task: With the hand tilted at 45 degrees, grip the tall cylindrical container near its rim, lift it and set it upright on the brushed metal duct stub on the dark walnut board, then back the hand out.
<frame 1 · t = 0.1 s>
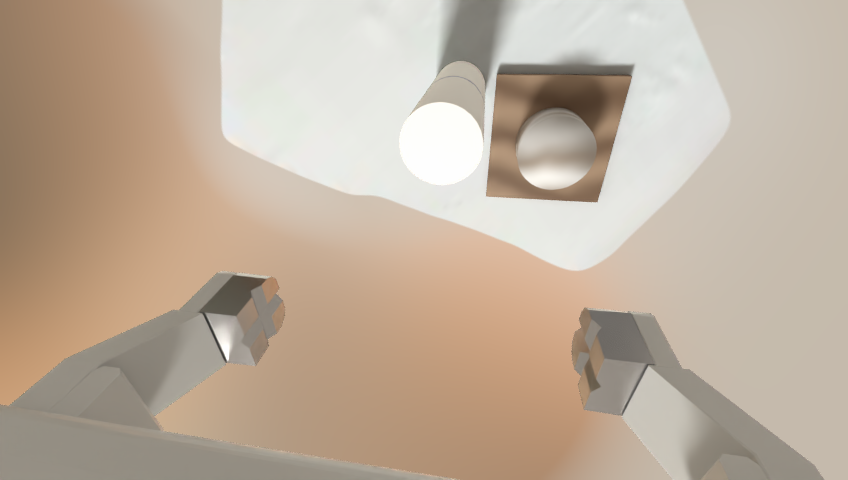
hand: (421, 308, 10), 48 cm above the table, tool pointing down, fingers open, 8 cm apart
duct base: (549, 140, 54), on the table
cylindrical container: (459, 88, 52), on the table
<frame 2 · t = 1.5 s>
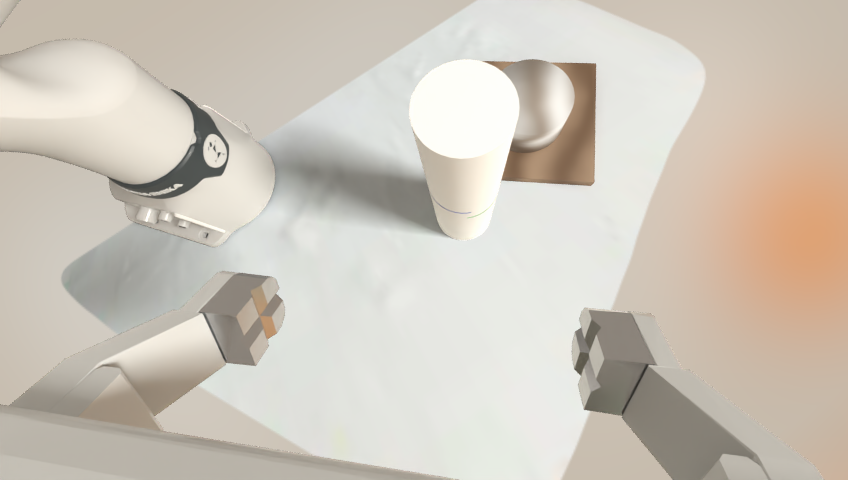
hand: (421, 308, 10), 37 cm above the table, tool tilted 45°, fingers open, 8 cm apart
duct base: (523, 122, 50), on the table
cylindrical container: (463, 214, 48), on the table
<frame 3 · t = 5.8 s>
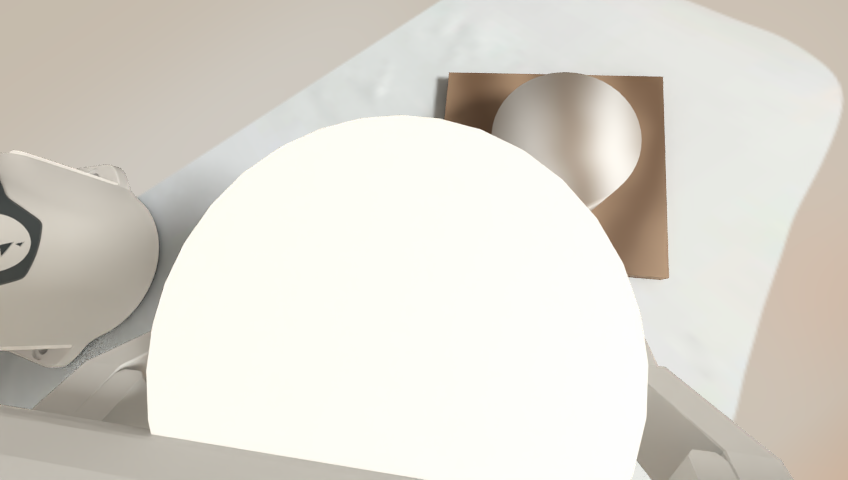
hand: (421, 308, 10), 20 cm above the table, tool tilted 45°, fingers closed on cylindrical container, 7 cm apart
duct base: (545, 171, 31), on the table
cylindrical container: (450, 322, 30), on the table, touching gripper
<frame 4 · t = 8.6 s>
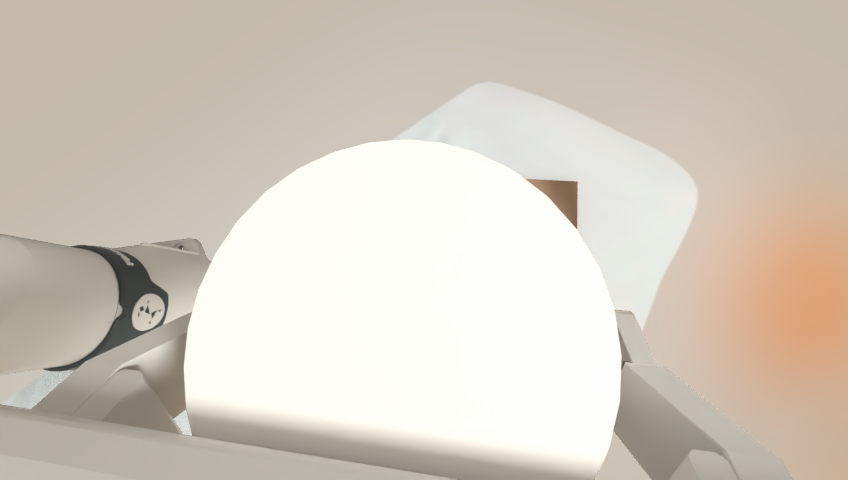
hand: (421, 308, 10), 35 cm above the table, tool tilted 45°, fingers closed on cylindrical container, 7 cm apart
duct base: (498, 246, 45), on the table
cylindrical container: (449, 326, 30), point 14 cm above the table, touching gripper
when the fingers open (28 cm above the table, at t = 11.6 s): cylindrical container stays where it is, resting on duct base.
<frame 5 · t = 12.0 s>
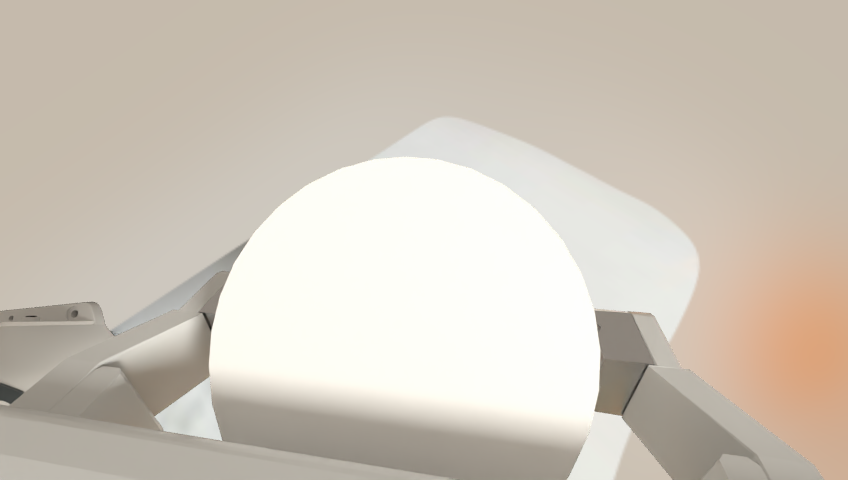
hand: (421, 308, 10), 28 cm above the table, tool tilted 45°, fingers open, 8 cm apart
cylindrical container: (450, 323, 31), point 6 cm above the table, touching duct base
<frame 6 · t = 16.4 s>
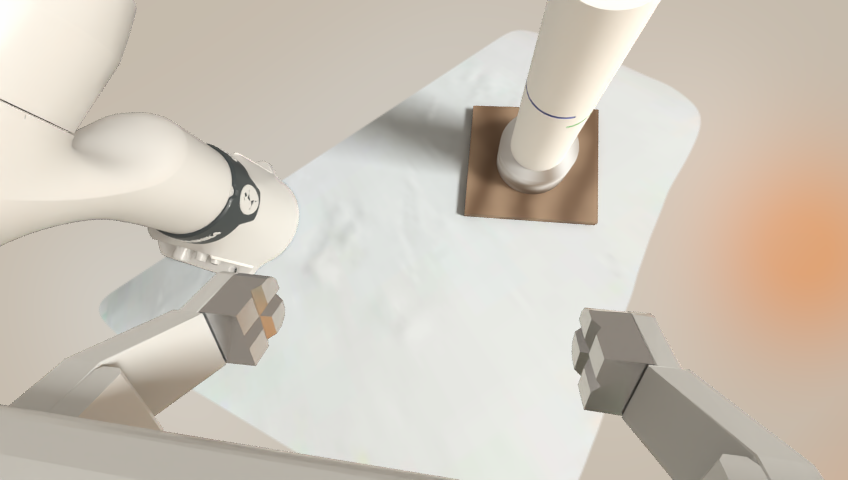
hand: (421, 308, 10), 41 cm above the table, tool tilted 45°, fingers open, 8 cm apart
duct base: (530, 164, 53), on the table
cylindrical container: (538, 146, 48), point 6 cm above the table, touching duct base
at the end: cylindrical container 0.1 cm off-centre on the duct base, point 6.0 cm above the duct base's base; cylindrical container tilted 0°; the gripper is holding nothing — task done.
